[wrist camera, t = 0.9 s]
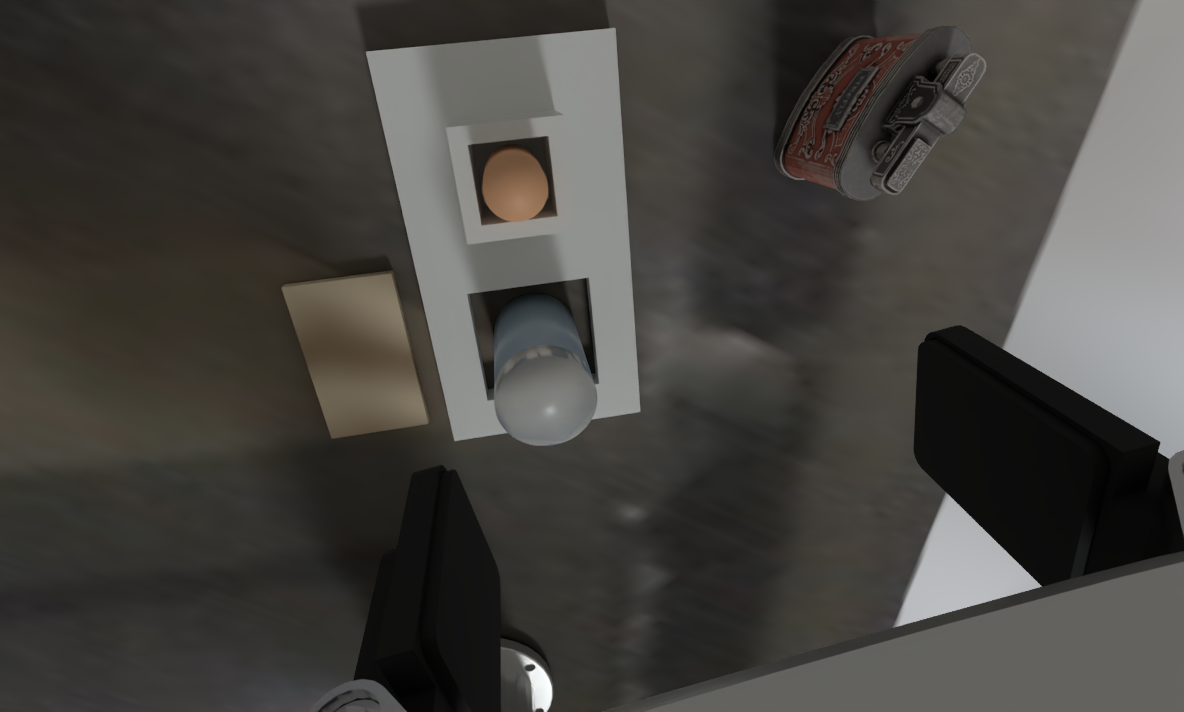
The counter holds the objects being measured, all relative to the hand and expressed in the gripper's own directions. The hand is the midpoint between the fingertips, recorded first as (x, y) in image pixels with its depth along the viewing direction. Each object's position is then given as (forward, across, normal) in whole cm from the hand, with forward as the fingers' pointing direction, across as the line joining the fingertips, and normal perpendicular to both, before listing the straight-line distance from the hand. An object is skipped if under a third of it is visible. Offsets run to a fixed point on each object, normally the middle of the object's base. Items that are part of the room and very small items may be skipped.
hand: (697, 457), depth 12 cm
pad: (+25, +14, +6) cm, 29 cm away
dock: (+25, +3, +3) cm, 25 cm away
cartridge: (+25, +4, +8) cm, 26 cm away
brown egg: (+22, +3, -2) cm, 22 cm away
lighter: (+25, -15, -1) cm, 30 cm away
